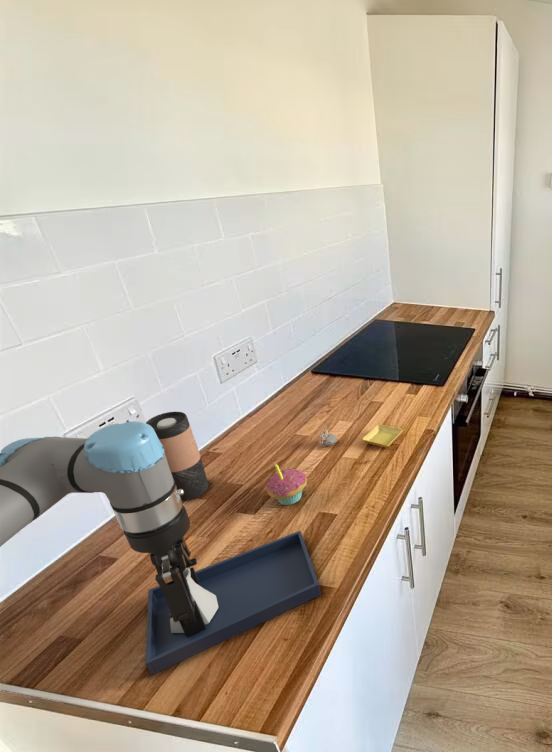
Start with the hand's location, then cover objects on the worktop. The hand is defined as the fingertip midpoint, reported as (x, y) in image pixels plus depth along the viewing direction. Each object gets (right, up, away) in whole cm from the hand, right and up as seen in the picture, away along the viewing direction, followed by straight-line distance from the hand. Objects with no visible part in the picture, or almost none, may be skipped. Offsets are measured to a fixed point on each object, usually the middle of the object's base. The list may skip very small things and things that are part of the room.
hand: (195, 613), depth 76 cm
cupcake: (+3, +12, +27) cm, 30 cm away
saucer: (+18, +22, +50) cm, 57 cm away
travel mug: (-21, +14, +28) cm, 38 cm away
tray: (+5, +1, +4) cm, 7 cm away
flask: (0, 0, 0) cm, 0 cm away
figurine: (+4, +21, +46) cm, 51 cm away
